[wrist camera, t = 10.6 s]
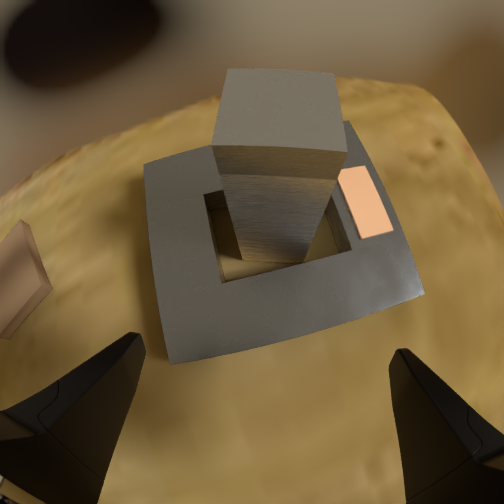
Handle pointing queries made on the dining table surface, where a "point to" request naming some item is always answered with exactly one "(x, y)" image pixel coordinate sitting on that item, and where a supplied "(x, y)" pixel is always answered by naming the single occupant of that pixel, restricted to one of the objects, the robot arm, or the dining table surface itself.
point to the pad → (20, 278)
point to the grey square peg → (278, 157)
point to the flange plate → (275, 282)
